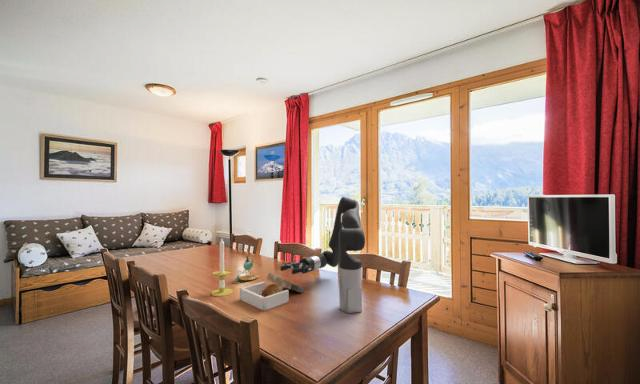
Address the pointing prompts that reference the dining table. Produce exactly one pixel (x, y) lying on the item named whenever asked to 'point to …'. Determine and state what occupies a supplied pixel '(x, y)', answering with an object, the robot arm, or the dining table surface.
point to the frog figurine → (247, 266)
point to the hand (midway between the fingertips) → (286, 270)
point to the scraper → (284, 283)
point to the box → (263, 303)
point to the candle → (221, 275)
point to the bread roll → (271, 290)
